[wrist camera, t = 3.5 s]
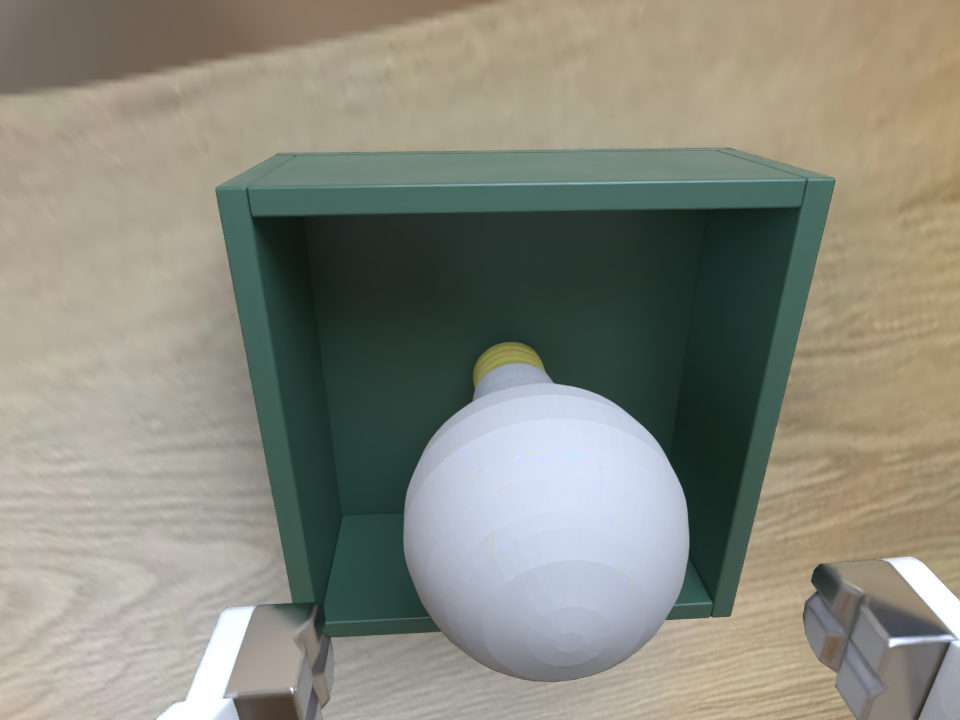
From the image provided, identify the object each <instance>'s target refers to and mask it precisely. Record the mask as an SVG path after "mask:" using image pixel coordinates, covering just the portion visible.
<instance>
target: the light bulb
mask: <svg viewBox="0 0 960 720" xmlns="http://www.w3.org/2000/svg"><path fill="white" fill-rule="evenodd" d="M473 383H474V387H475V392H474V396H473V402H471V403H470V404H468V405H467V406H466V407H464V408H463V409H461V410H460V411H458V412H457V413H456V414H454V415H453V416H452V417H451V418H450V419H449V420H447V421H446V422H445V423H444V424H443V425H442V426H441V427H440V429H439V430H438V431H437V432H436V433H435V434H434V436H433V437H432V438H431V440H430V441H429V443H428V445H427V446H426V448H425V449H424V452H423V454H422V456H421V458H420V460H419V462H418V465H417V467H416V469H415V471H414V474H413V476H412V478H411V481H410V484H409V487H408V490H407V494H406V499H405V509H404V537H403V541H404V554H405V559H406V563H407V567H408V570H409V573H410V575H411V578H412V580H413V583H414V585H415V588H416V591H417V593H418V595H419V598H420V600H421V602H422V604H423V606H424V607H425V609H426V611H427V612H428V614H429V615H430V616H431V618H432V619H433V621H434V622H435V623H436V625H437V626H438V628H439V629H440V630H441V632H442V633H443V634H444V635H445V636H446V637H447V638H448V639H449V640H450V641H451V642H452V643H453V644H454V645H455V646H457V647H458V648H459V649H461V650H462V651H463V652H465V653H466V654H468V655H469V656H470V657H472V658H473V659H475V660H476V661H478V662H479V663H481V664H482V665H484V666H486V667H488V668H490V669H492V670H495V671H497V672H500V673H502V674H505V675H508V676H512V677H515V678H519V679H524V680H530V681H541V682H558V681H568V680H575V679H580V678H584V677H588V676H592V675H595V674H597V673H600V672H602V671H605V670H608V669H610V668H612V667H614V666H616V665H617V664H619V663H621V662H623V661H625V660H626V659H628V658H629V657H630V656H631V655H633V654H634V653H635V652H637V651H638V650H639V649H640V648H642V647H643V646H644V645H645V644H646V643H647V642H648V641H649V640H650V639H651V638H652V637H653V636H654V635H655V634H656V632H657V631H658V630H659V628H660V627H661V626H662V624H663V622H664V621H665V619H666V617H667V616H668V614H669V612H670V611H671V609H672V607H673V606H674V604H675V602H676V600H677V598H678V596H679V594H680V591H681V588H682V585H683V581H684V577H685V572H686V566H687V561H688V555H689V527H688V512H687V505H686V499H685V496H684V493H683V489H682V487H681V485H680V483H679V480H678V478H677V476H676V474H675V472H674V470H673V469H672V467H671V465H670V463H669V461H668V459H667V457H666V455H665V453H664V452H663V450H662V448H661V447H660V445H659V444H658V442H657V441H656V440H655V439H654V437H653V436H652V435H651V434H650V433H649V432H648V431H647V430H646V429H645V428H644V427H643V426H642V425H641V424H640V423H638V422H637V421H636V420H635V419H634V418H633V417H631V416H630V415H629V414H628V413H627V412H625V411H624V410H623V409H622V408H620V407H619V406H618V405H616V404H615V403H613V402H611V401H610V400H608V399H606V398H604V397H602V396H600V395H598V394H595V393H593V392H590V391H587V390H584V389H580V388H577V387H572V386H566V385H560V384H554V383H553V381H552V380H551V378H550V377H549V376H548V375H547V374H546V372H545V369H544V366H543V364H542V361H541V360H540V358H539V356H538V354H537V353H536V352H535V351H534V350H533V349H532V348H531V347H529V346H527V345H525V344H522V343H518V342H504V343H500V344H497V345H495V346H493V347H491V348H489V349H488V350H486V351H485V352H484V353H483V354H482V355H481V356H480V357H479V359H478V360H477V362H476V364H475V367H474V370H473Z"/></svg>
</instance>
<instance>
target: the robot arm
mask: <svg viewBox="0 0 960 720" xmlns="http://www.w3.org/2000/svg"><path fill="white" fill-rule="evenodd" d="M811 582H812V584H813V585H814V587H815V588H816V589H817V591H816V592H815V593H814V594H813V595H812V596H811V597H810V598H809V599H808V600H807V601H806V602H805V607H804V612H803V622H804V629H805V634H806V637H807V639H808V642H809V644H810V647H811V648H812V650H813V652H814V653H815V655H816V657H817V658H818V660H819V661H820V662H821V663H823V664H824V665H826V666H827V667H829V668H830V669H832V670H833V671H835V672H836V673H837V674H836V683H835V687H836V689H837V690H838V692H839V693H840V695H841V696H842V698H843V699H844V701H845V703H846V704H847V706H848V707H849V709H850V710H851V712H852V714H853V715H854V717H855V718H856V720H960V601H959V600H958V599H957V598H956V597H955V596H954V595H953V594H952V593H951V592H950V591H949V590H948V589H947V588H946V586H945V585H944V584H943V583H942V582H941V581H940V580H939V579H938V578H937V577H936V576H935V575H934V574H933V573H932V572H931V571H930V570H929V569H928V568H927V567H926V566H925V565H924V564H923V563H922V562H921V561H919V560H918V559H916V558H914V557H912V556H910V557H898V558H886V559H879V560H877V559H871V560H860V561H848V562H837V563H825V564H819V565H818V566H817V567H816V568H815V570H814V572H813V576H812V579H811ZM325 622H326V615H325V611H324V607H323V603H320V602H308V603H287V604H267V605H257V606H237V607H226V608H225V610H224V611H223V612H222V613H221V614H220V616H219V617H218V620H217V622H216V625H215V627H214V630H213V632H212V635H211V637H210V639H209V642H208V644H207V647H206V649H205V652H204V654H203V657H202V659H201V661H200V664H199V666H198V669H197V671H196V674H195V676H194V679H193V681H192V683H191V686H190V688H189V691H188V693H187V696H186V698H185V701H184V702H174V703H173V704H172V705H171V706H170V707H169V708H168V709H167V710H166V711H164V712H163V713H162V714H161V715H160V716H159V717H158V718H157V719H156V720H323V717H322V712H321V710H322V708H323V707H324V706H325V705H326V704H327V703H328V701H329V700H330V696H331V690H332V684H333V668H334V659H333V647H332V642H331V637H329V636H328V635H327V634H325V633H324V627H325Z"/></svg>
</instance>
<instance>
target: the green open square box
mask: <svg viewBox="0 0 960 720" xmlns="http://www.w3.org/2000/svg"><path fill="white" fill-rule="evenodd" d="M834 185H835V179H834V178H833V177H829V176H826V175H822V174H819V173H815V172H812V171H808V170H805V169H801V168H798V167H794V166H791V165H787V164H784V163H780V162H777V161H773V160H770V159H766V158H762V157H759V156H755V155H752V154H748V153H745V152H741V151H738V150H735V149H731V148H684V149H600V150H515V151H431V152H346V153H278V154H276V155H274V156H273V157H271V158H269V159H267V160H265V161H264V162H262V163H260V164H258V165H256V166H254V167H253V168H251V169H249V170H247V171H245V172H243V173H242V174H240V175H238V176H236V177H234V178H232V179H231V180H229V181H227V182H225V183H223V184H221V185H220V186H218V187H216V190H215V191H216V196H217V202H218V207H219V212H220V218H221V223H222V228H223V234H224V239H225V244H226V250H227V255H228V260H229V266H230V271H231V276H232V282H233V287H234V292H235V298H236V303H237V308H238V314H239V319H240V324H241V330H242V335H243V340H244V346H245V351H246V356H247V362H248V367H249V372H250V378H251V383H252V388H253V394H254V399H255V404H256V410H257V415H258V420H259V426H260V431H261V436H262V442H263V447H264V452H265V458H266V463H267V468H268V474H269V479H270V484H271V490H272V495H273V500H274V506H275V511H276V516H277V522H278V527H279V532H280V538H281V543H282V548H283V554H284V559H285V564H286V570H287V575H288V580H289V586H290V591H291V596H292V602H293V603H308V602H320V603H323V607H324V611H325V615H326V622H325V627H324V633H325V634H327V635H328V636H329V637H350V636H369V635H388V634H407V633H427V632H441V630H440V629H439V628H438V626H437V625H436V623H435V622H434V621H433V619H432V618H431V616H430V615H429V614H428V612H427V611H426V609H425V607H424V606H423V604H422V602H421V600H420V598H419V595H418V593H417V591H416V588H415V585H414V583H413V580H412V578H411V575H410V573H409V570H408V567H407V563H406V559H405V554H404V541H403V537H404V509H405V499H406V494H407V490H408V487H409V484H410V481H411V478H412V476H413V474H414V471H415V469H416V467H417V465H418V462H419V460H420V458H421V456H422V454H423V452H424V449H425V448H426V446H427V445H428V443H429V441H430V440H431V438H432V437H433V436H434V434H435V433H436V432H437V431H438V430H439V429H440V427H441V426H442V425H443V424H444V423H445V422H446V421H447V420H449V419H450V418H451V417H452V416H453V415H454V414H456V413H457V412H458V411H460V410H461V409H463V408H464V407H466V406H467V405H468V404H470V403H471V402H473V396H474V392H475V387H474V383H473V370H474V367H475V364H476V362H477V360H478V359H479V357H480V356H481V355H482V354H483V353H484V352H485V351H486V350H488V349H489V348H491V347H493V346H495V345H497V344H500V343H504V342H518V343H522V344H525V345H527V346H529V347H531V348H532V349H533V350H534V351H535V352H536V353H537V354H538V356H539V358H540V360H541V361H542V364H543V366H544V369H545V372H546V374H547V375H548V376H549V377H550V378H551V380H552V381H553V383H554V384H560V385H566V386H572V387H577V388H580V389H584V390H587V391H590V392H593V393H595V394H598V395H600V396H602V397H604V398H606V399H608V400H610V401H611V402H613V403H615V404H616V405H618V406H619V407H620V408H622V409H623V410H624V411H625V412H627V413H628V414H629V415H630V416H631V417H633V418H634V419H635V420H636V421H637V422H638V423H640V424H641V425H642V426H643V427H644V428H645V429H646V430H647V431H648V432H649V433H650V434H651V435H652V436H653V437H654V439H655V440H656V441H657V442H658V444H659V445H660V447H661V448H662V450H663V452H664V453H665V455H666V457H667V459H668V461H669V463H670V465H671V467H672V469H673V470H674V472H675V474H676V476H677V478H678V480H679V483H680V485H681V487H682V489H683V493H684V496H685V499H686V505H687V512H688V527H689V555H688V561H687V566H686V572H685V577H684V581H683V585H682V588H681V591H680V594H679V596H678V598H677V600H676V602H675V604H674V606H673V607H672V609H671V611H670V612H669V614H668V616H667V617H666V619H665V620H675V619H695V618H709V617H710V616H711V617H729V616H731V613H732V609H733V605H734V600H735V596H736V592H737V588H738V584H739V580H740V575H741V571H742V567H743V563H744V559H745V555H746V551H747V546H748V542H749V538H750V534H751V530H752V526H753V521H754V517H755V513H756V509H757V505H758V501H759V497H760V492H761V488H762V484H763V480H764V476H765V472H766V467H767V463H768V459H769V455H770V451H771V447H772V443H773V438H774V434H775V430H776V426H777V422H778V418H779V413H780V409H781V405H782V401H783V397H784V393H785V389H786V384H787V380H788V376H789V372H790V368H791V364H792V359H793V355H794V351H795V347H796V343H797V339H798V334H799V330H800V326H801V322H802V318H803V314H804V310H805V305H806V301H807V297H808V293H809V289H810V285H811V280H812V276H813V272H814V268H815V264H816V260H817V256H818V251H819V247H820V243H821V239H822V235H823V231H824V226H825V222H826V218H827V214H828V210H829V206H830V202H831V197H832V193H833V189H834Z"/></svg>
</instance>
